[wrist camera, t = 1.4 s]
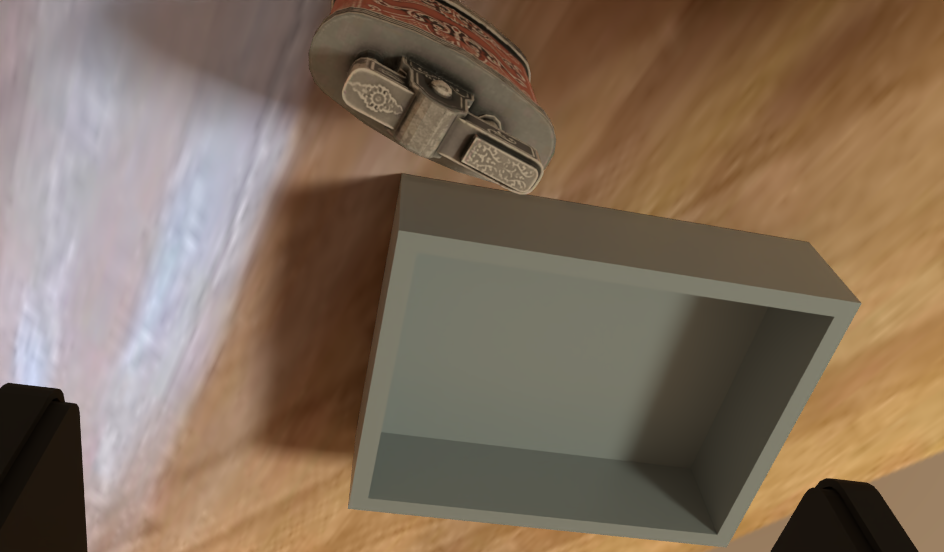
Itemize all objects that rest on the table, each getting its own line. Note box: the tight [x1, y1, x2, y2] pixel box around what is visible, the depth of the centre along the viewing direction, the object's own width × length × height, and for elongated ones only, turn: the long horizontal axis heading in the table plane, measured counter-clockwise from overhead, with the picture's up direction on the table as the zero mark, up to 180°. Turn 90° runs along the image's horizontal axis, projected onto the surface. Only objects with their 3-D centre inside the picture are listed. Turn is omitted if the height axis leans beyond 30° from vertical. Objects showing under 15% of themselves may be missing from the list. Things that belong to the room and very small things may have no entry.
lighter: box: [309, 0, 556, 194], centre depth 26 cm, size 8×3×10 cm, turn 60°
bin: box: [348, 174, 861, 547], centre depth 36 cm, size 19×15×5 cm
